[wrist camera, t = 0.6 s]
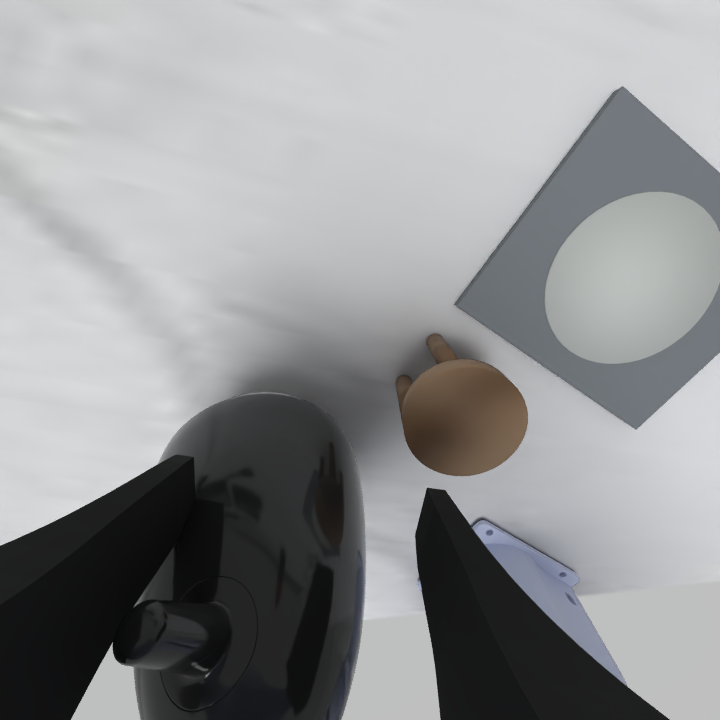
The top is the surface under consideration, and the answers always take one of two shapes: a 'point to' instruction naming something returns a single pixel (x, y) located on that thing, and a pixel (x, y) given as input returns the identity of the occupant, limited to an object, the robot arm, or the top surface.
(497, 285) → the mat
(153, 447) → the top surface
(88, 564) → the robot arm
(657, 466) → the top surface
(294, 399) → the black ball
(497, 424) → the stool
